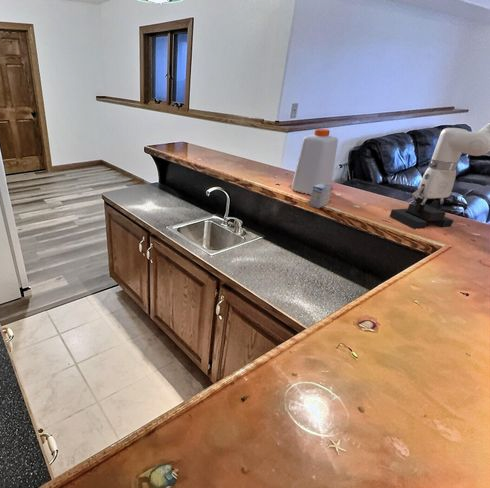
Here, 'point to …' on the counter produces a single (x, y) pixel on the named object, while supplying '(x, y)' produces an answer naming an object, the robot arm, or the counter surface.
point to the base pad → (417, 219)
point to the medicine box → (320, 195)
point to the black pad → (428, 212)
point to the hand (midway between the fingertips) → (425, 213)
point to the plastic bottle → (315, 161)
